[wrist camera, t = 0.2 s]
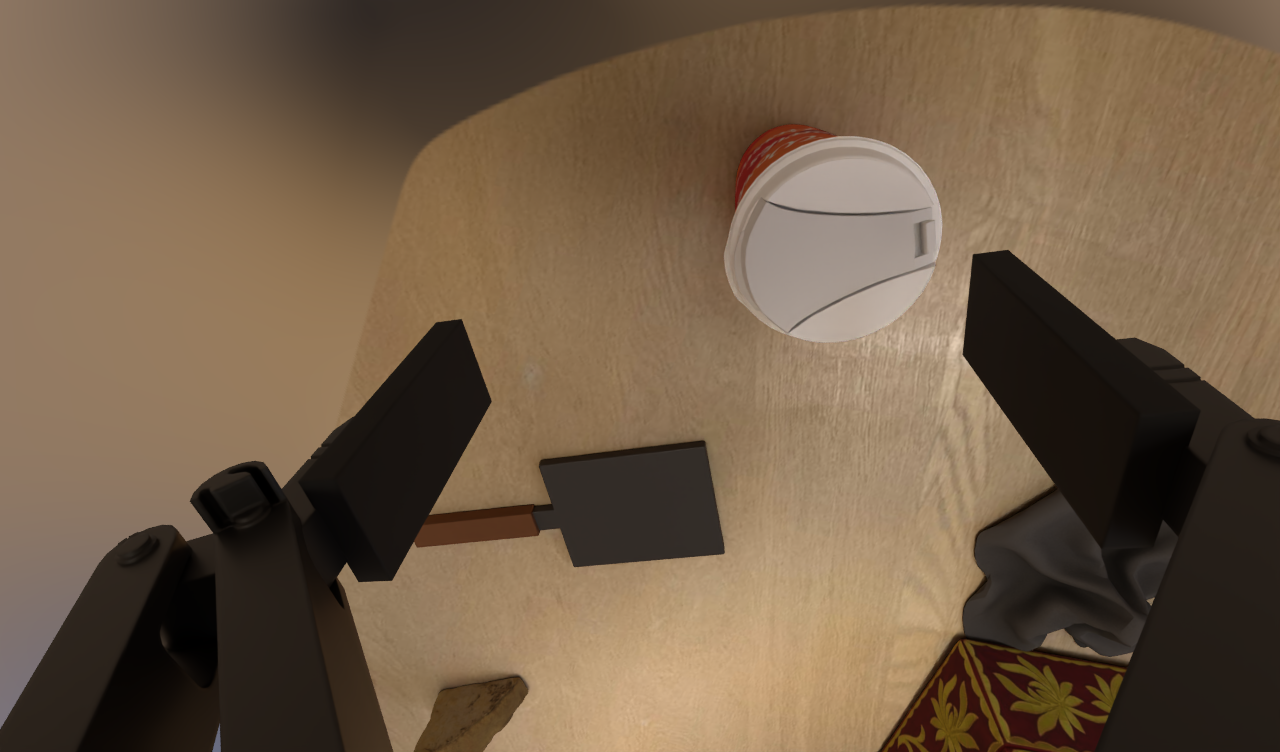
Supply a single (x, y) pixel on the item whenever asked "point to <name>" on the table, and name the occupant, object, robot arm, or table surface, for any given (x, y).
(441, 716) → the rock
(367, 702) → the robot arm
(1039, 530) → the cloth
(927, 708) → the decorative box
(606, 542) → the spatula
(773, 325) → the coffee cup
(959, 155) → the table surface
